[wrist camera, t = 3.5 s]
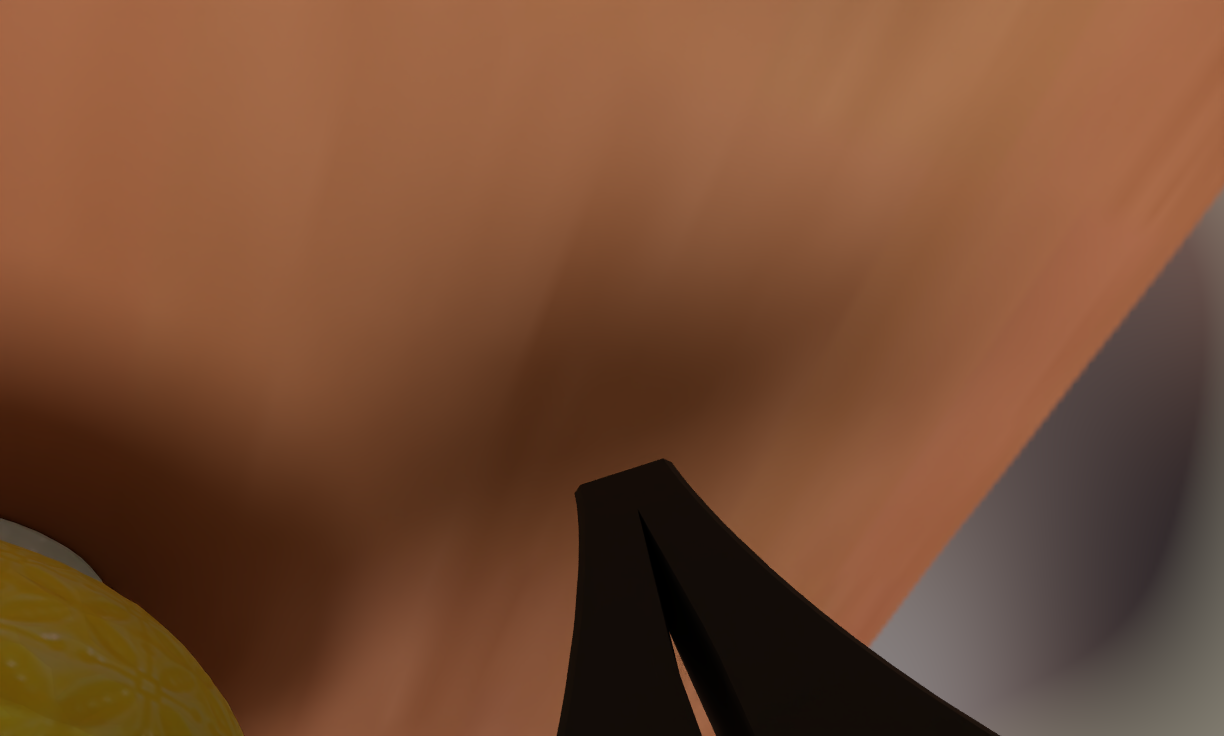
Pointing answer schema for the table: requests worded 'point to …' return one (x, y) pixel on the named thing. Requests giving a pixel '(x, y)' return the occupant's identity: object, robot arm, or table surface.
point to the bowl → (91, 654)
